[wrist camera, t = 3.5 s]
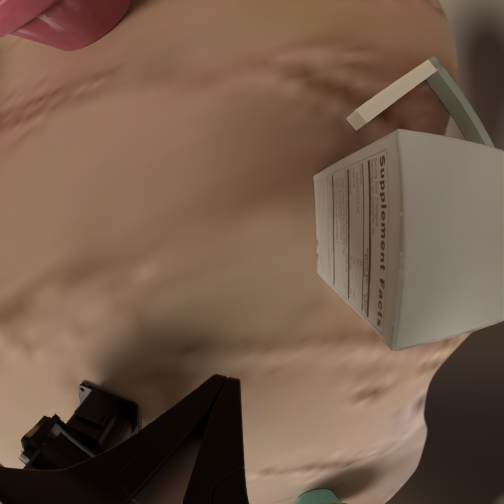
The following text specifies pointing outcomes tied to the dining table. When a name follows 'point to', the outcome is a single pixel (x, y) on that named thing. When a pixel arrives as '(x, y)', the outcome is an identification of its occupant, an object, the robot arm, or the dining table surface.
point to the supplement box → (415, 236)
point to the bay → (442, 88)
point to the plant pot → (61, 20)
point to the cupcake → (318, 497)
